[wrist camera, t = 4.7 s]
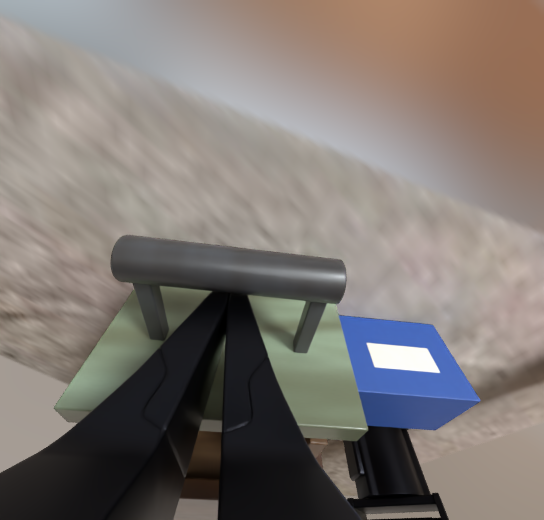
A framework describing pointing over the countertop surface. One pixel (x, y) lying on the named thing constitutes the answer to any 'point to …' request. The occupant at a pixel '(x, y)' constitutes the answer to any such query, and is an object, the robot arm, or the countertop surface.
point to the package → (405, 374)
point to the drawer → (273, 327)
